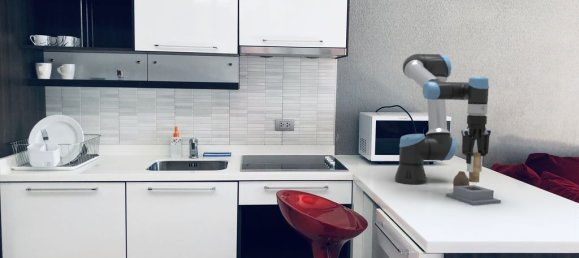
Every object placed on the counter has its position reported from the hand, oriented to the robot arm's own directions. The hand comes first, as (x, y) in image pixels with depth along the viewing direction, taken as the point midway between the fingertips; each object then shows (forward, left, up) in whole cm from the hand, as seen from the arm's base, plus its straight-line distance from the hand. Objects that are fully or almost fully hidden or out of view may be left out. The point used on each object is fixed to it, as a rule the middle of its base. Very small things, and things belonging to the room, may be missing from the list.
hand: (474, 171), depth 185 cm
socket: (0, 0, -12) cm, 12 cm away
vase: (-15, +7, -12) cm, 21 cm away
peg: (0, 0, -4) cm, 4 cm away
